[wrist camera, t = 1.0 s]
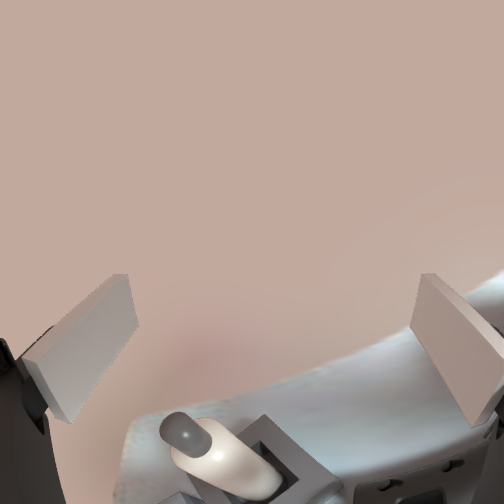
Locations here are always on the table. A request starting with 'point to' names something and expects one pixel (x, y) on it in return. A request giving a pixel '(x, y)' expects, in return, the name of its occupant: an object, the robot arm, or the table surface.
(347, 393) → the table surface
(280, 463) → the socket block
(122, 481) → the table surface
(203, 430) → the white bottle
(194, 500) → the stand
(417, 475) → the muzzle brake
